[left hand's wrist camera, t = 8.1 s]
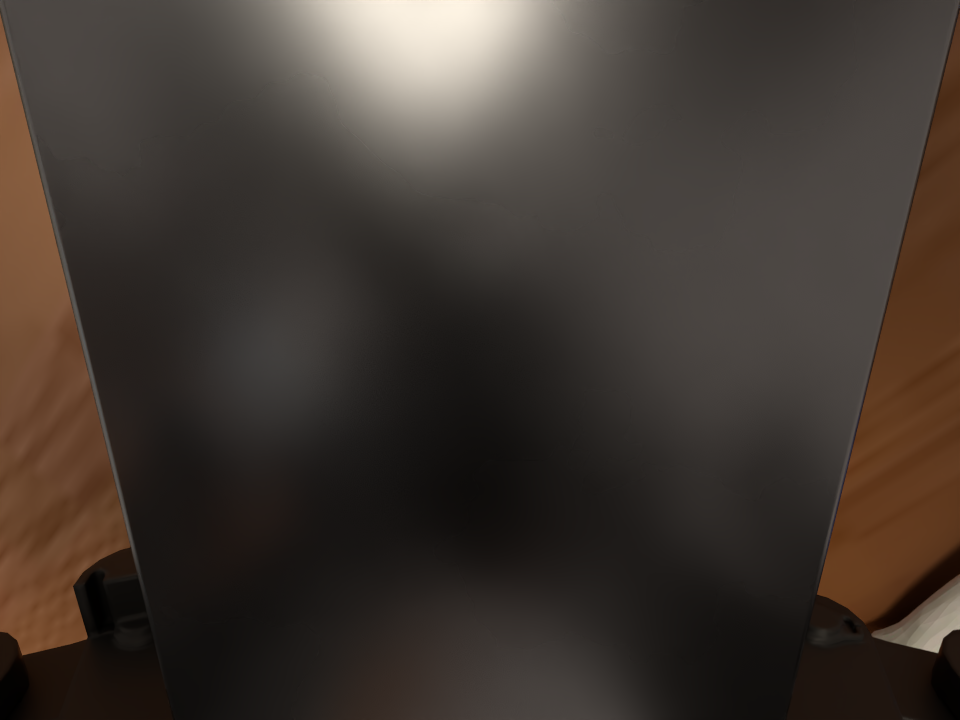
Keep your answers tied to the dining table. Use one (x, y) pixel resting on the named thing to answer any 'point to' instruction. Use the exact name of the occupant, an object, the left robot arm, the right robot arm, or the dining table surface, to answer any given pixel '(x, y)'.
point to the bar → (479, 333)
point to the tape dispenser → (928, 620)
